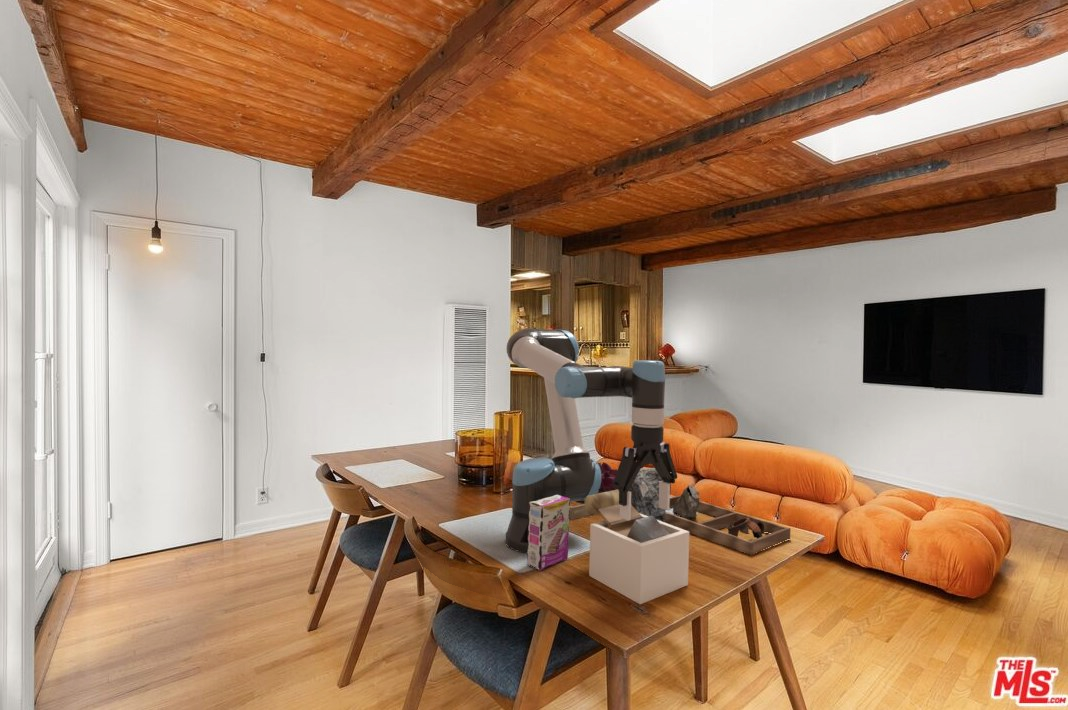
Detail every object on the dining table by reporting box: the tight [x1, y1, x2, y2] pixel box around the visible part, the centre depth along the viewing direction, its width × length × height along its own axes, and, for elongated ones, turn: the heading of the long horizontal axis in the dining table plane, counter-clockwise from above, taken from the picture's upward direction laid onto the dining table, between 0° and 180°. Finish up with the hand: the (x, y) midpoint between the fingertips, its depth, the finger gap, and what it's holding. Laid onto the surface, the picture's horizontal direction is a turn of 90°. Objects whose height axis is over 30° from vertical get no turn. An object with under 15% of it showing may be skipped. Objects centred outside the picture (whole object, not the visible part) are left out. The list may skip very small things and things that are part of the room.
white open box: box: [588, 513, 690, 605], centre depth 122 cm, size 17×17×13 cm
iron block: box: [627, 516, 669, 543], centre depth 119 cm, size 6×6×6 cm
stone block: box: [624, 467, 666, 522], centre depth 152 cm, size 18×9×20 cm, turn 132°
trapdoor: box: [584, 489, 642, 537], centre depth 125 cm, size 20×13×5 cm, turn 35°
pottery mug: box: [726, 518, 764, 539], centre depth 148 cm, size 12×10×8 cm
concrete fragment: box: [672, 485, 701, 520], centre depth 170 cm, size 6×19×11 cm, turn 8°
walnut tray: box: [665, 494, 791, 556], centre depth 160 cm, size 40×21×4 cm, turn 36°
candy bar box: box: [526, 495, 571, 572], centre depth 131 cm, size 11×5×16 cm, turn 136°
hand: (645, 513), depth 120 cm, fingers open, 13 cm apart
